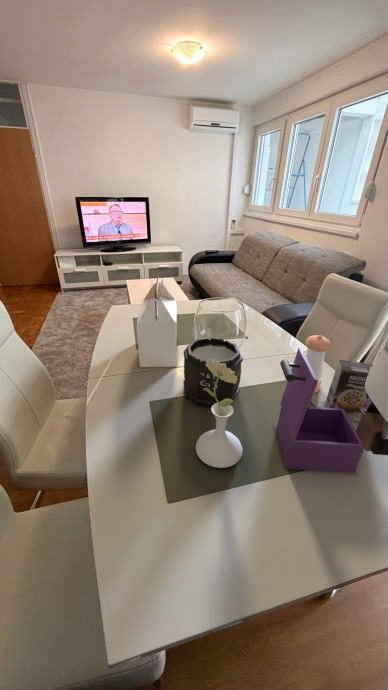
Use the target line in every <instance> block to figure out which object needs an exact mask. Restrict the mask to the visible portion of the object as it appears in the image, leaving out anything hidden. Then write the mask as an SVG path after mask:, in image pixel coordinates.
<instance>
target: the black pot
mask: <svg viewBox="0 0 388 690" xmlns="http://www.w3.org/2000/svg"><path fill="white" fill-rule="evenodd" d="M213 359H215V360H216V361H218V362H219V363H220V364H222V363H224V364H226V368H229V369H231V371H234V372H235V374H233V375H235V376H236V377H237V378H236V379H237V381H236V382H235V384H234V383H229V382H225V381H224V380H221V379H220V378H219V379H218V382H217V385H216V389H215V394H216V397H217V400H218V402H219V403H220V402H221V401H223V400H224V399H227V398H228V399H231V400H233V401H234V399H235V397H237V396H238V394H239V392H240V387H239V386H240V383H241V378H242V377H241V376H242V363H243V361H244V358H243V356H242V354H241V351H240V349H239V348H238V345H237V344H236V343H233V342H231V341H229V340H227V339H224V338H220V337H219V338H218V337H210V338H209V337H202V338H196V339H194V340H193V341H192V342H191V343H189V344H188V345H186V348H185V349H183V376H184V377H183V378H184V380H183V392H184V395H186V397H187V398H188V399H190V401H192V402H193V403H195V404H196V405H197V406H200V407H201V406H202V407H207V408H211V407H212V406H213V405H214V404H216V403H217V401H216V399H215V396H214V397H213V396H212V395H211V394H210V393H208V392H207V391H205V390H203V389H204V388H208V389H209V390H210V391H211V392H212V393H214V387H215V384H216V380H217V376H215V374H213V373H212V372H211V371H210V370H209V369H208V367H207V366H206V363H207V362H206V361H208V360H211V361H212V362H213ZM213 363H214V362H213Z"/></svg>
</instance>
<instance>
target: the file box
mask: <svg viewBox="0 0 388 690" xmlns="http://www.w3.org/2000/svg"><path fill="white" fill-rule="evenodd" d="M278 416H279V417H278V421H277V426H276V433H277V437H278V441H279V445H280V449H281V453H282V457H283V461H284V465H285V469H287V470H289V469H290V470H304V471H306V470H307V471H318V472H319V471H321V472H336V473H349V474H351V473H352V474H355V473H356V470H357V468H358V465H359V463H360V461H361V458H362V456H363V453H364V451H365V448H364V446H363V444H362V442H361V440H360V439H359V437H358V435H357V433H356V428H355V426H354V425H353V423H352V422H351V421H352V420H350V419H349V418H348V416H347V414H346V412H345V411H344V409H341V408H326V407H324V406H321V407H320V406H308V408H307V411H306V413H305V416H304V419H303V421H302V424H301V426H300V429H299V432H298V434H297V437H296V439H295V441H292V440H291V437H290V434H289V430H288V427H287V424H286V420H285V417H284V414H283V410H282V407H280V411H279V415H278Z"/></svg>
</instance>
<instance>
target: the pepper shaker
mask: <svg viewBox="0 0 388 690" xmlns="http://www.w3.org/2000/svg"><path fill="white" fill-rule="evenodd" d="M305 345H306V352H305V356H306V358H307V360H308V362H309V363H310V365H311V367H312V369H313V371H314V373H315V375H316V377H317V379H318V382H317V385H316V388H315V390H314V393H313V394H316V393H319V390H320V387H321V385H322V380H321V379H322V375H323V373H324V372H323V370H324V361H325V358H326V353H327V351H328V350H329V349H330V348H331V342H330V340H329V338H327V337H325V336H323V335H321V334H317V335H310V336H308V337H307V338H306V340H305Z"/></svg>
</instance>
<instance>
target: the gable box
mask: <svg viewBox="0 0 388 690" xmlns="http://www.w3.org/2000/svg"><path fill="white" fill-rule="evenodd" d="M177 322H178V321H177V300H176V299H175V298H174V297H173V296H172V294H171V292H170V291H169V290H168V289H167V287H166V286H165V285H164V279H163V278H162V279H161V282H160V277H159V276H157V277H156V281H155V283H154V284H153V285H152V286H151V287H150V289H149V291H148V292H147V294H146V296H145V297H144V298H143V300H142V301H141V305H140V309H139V313H138V317H137V320H136V334H137V348H138V359H139V360H138V361H139V368H161V367H162V368H169V367H170V368H171V367H172V368H173V367H177V366H178V345H177V344H178V342H177V341H178V340H177V338H178V337H177V335H178V334H177V333H178V332H177V331H178V330H177V327H178V325H177Z"/></svg>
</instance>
